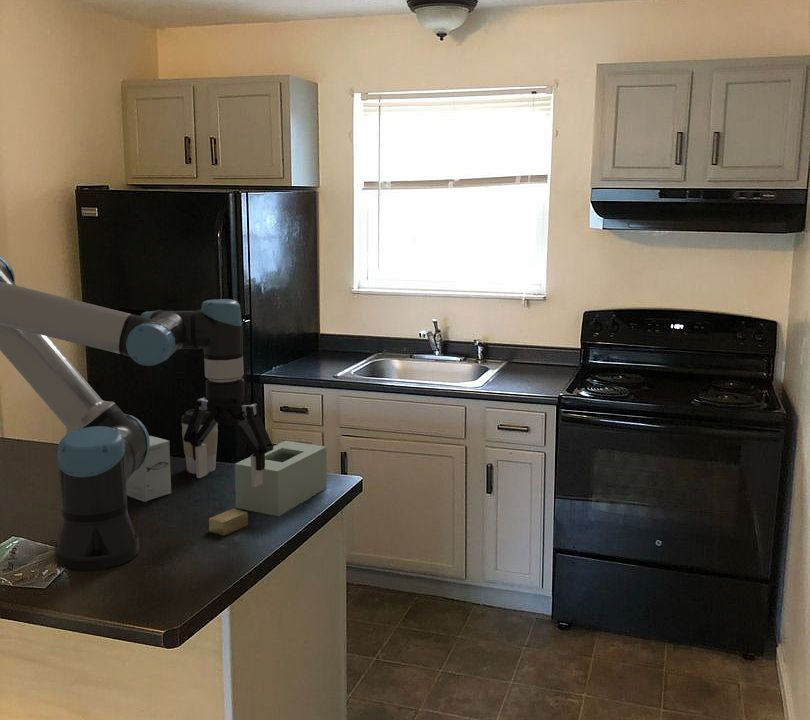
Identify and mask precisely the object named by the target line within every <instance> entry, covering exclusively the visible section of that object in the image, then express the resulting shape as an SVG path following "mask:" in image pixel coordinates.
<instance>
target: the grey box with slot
mask: <svg viewBox="0 0 810 720" xmlns="http://www.w3.org/2000/svg"><path fill="white" fill-rule="evenodd" d="M327 468H328V467H327V446H323V445H316V444H311V443H304V442H297V441H291V440H284V441H282V442H279V443H277V444H276V445H275V444H274V445H273V450H271V451H269V452H267V453H265V468H264V469H263V470H262V475H263V484H261V485H259V486H257V487H252V479H251V456H249V457H247V458H244V459H242V460H241V461H238V462H236V463H234V482H235V484H234V485H235V509H238V510H245V511H249V512H255V513H259V514H266V515H269V516H275V517H281V516H282V515H284V514H285V513H287V512H289V511H291V510H292V509H294V508H295V507H297V506H299V505H301V504H302V503H305V502H306V501H307V500H309V499H311V498H312V496H313V497H315V496H316V495H318V494H319V493H321V492H322V491H324V490H327V487H328V486H327V485H328V484H327V483H328V482H327V481H328V480H327V476H328V474H327ZM317 493H318V494H317ZM300 503H301V504H300Z"/></svg>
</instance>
